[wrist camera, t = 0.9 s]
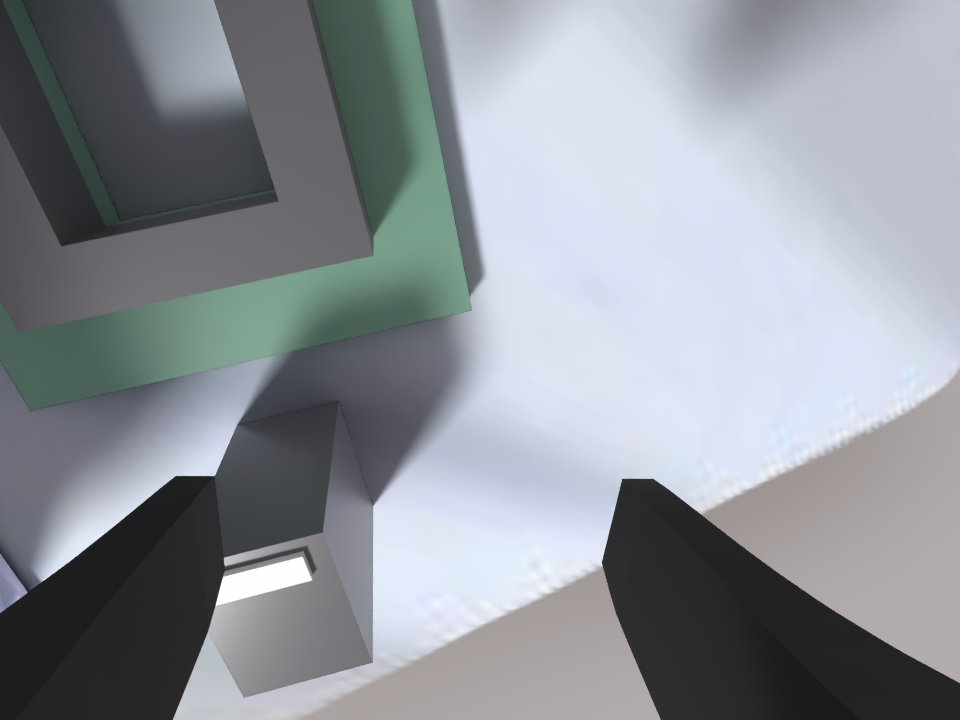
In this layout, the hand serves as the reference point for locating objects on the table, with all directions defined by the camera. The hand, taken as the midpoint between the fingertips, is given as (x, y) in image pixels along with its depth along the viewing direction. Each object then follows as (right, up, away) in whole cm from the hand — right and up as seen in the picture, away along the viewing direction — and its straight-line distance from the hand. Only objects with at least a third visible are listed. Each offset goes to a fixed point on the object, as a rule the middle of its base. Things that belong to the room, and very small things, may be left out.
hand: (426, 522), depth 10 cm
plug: (-5, -1, +11) cm, 12 cm away
